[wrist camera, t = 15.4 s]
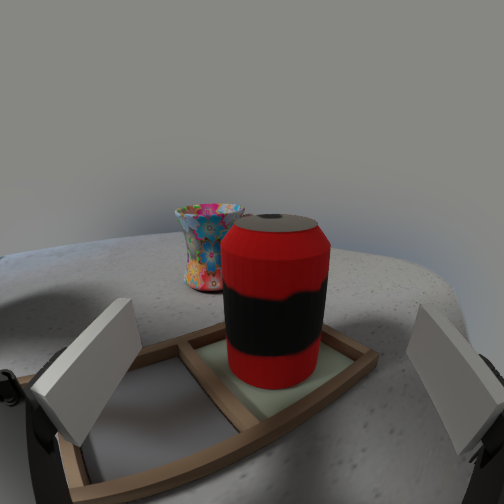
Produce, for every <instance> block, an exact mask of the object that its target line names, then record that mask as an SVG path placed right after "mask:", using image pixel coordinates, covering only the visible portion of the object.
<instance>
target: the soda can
mask: <svg viewBox="0 0 504 504" xmlns="http://www.w3.org/2000/svg"><path fill="white" fill-rule="evenodd" d="M220 245H221V265H222V283H223V299H224V314H225V329H226V342H227V355H228V364H229V367H230V369H231V371H232V372H233V374H234V375H235V376H237V377H238V378H239V379H240V380H242V381H244V382H245V383H247V384H249V385H252V386H254V387H257V388H262V389H271V390H275V389H284V388H288V387H292V386H294V385H297V384H299V383H301V382H302V381H304V380H306V379H307V378H308V377H309V376H310V375H311V374H312V373H313V372H314V370H315V368H316V365H317V360H318V353H319V347H320V340H321V333H322V325H323V318H324V309H325V301H326V292H327V282H328V272H329V260H330V247H331V245H330V242H329V241H328V239H327V238H326V236H325V235H324V233H323V232H322V230H321V229H320V228H319V226H318V223H317V222H316V221H315V220H313V219H310V218H307V217H302V216H296V215H285V214H263V215H253V216H247V217H242V218H239V219H237V220H235V221H234V224H233V226H232V227H231V229H230V230H229V231H228V233H227V234H226V235H225V237H224V238H223V240H222V241H221V244H220Z"/></svg>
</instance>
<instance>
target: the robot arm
mask: <svg viewBox="0 0 504 504" xmlns="http://www.w3.org/2000/svg"><path fill="white" fill-rule="evenodd" d="M141 349H142V343H141V339H140V335H139V331H138V327H137V323H136V319H135V314H134V310H133V305H132V300H131V299H125V298H117V299H116V300H115V301H114V302H113V303H112V304H111V305H110V306H109V307H107V308H106V309H105V310H104V311H103V312H102V313H101V314H100V315H99V316H98V317H97V318H96V319H95V320H94V321H93V322H92V323H91V324H90V325H89V326H88V327H87V328H86V329H85V330H84V331H83V332H82V333H81V334H80V335H79V336H78V337H77V338H76V339H75V340H74V342H73V343H72V344H71V345H70V346H69V347H65V348H63V349H62V350H60V351H58V352H57V353H55V354H54V356H53V357H52V358H51V359H50V360H49V362H47V363H46V364H45V365H44V366H43V368H41V369H40V370H39V371H38V373H37V374H36V375H35V376H34V377H33V378H32V379H31V380H30V381H29V382H28V383H27V385H26V386H25V387H24V388H23V389H22V387H21V385H20V383H19V382H18V380H17V378H16V376H15V375H14V373H13V372H12V371H10V370H8V369H2V370H0V504H73V502H72V499H71V495H70V492H69V489H68V485H67V481H66V477H65V473H64V469H63V465H62V460H61V456H60V451H59V445H58V441H57V439H56V437H55V434H56V433H57V431H58V432H59V433H60V435H61V436H62V437H63V438H64V440H65V441H67V442H70V443H72V444H74V445H76V446H78V447H81V445H82V443H83V441H84V440H85V438H86V436H87V435H88V433H89V431H90V430H91V428H92V426H93V425H94V423H95V421H96V420H97V418H98V416H99V415H100V413H101V412H102V410H103V408H104V407H105V405H106V403H107V402H108V400H109V399H110V397H111V395H112V394H113V392H114V391H115V389H116V388H117V386H118V384H119V383H120V381H121V380H122V378H123V377H124V375H125V373H126V372H127V370H128V369H129V367H130V366H131V364H132V363H133V361H134V360H135V358H136V356H137V355H138V353H139V352H140V350H141ZM406 354H407V356H408V357H409V359H410V361H411V363H412V364H413V366H414V368H415V370H416V372H417V373H418V375H419V377H420V379H421V381H422V383H423V385H424V386H425V388H426V390H427V392H428V394H429V396H430V398H431V400H432V402H433V404H434V406H435V408H436V410H437V412H438V414H439V416H440V418H441V420H442V422H443V424H444V426H445V428H446V431H447V433H448V435H449V437H450V439H451V442H452V444H453V446H454V448H455V451H456V453H457V455H461V454H463V453H465V452H468V451H470V450H472V449H473V448H474V447H475V446H476V445H477V444H478V442H479V441H480V440H481V441H482V443H483V445H482V447H481V448H480V449H479V450H478V451H477V452H476V453H475V454H474V455H473V457H472V458H471V459H470V461H469V463H471V462H472V461H473V460H474V459H475V458H476V457H477V456H478V457H477V460H476V462H475V463H474V464H475V467H474V471H473V474H472V477H471V480H470V483H469V486H468V488H467V491H466V494H465V496H464V499H463V501H462V504H504V379H503V378H502V376H500V374H499V372H498V371H497V370H495V367H494V366H493V365H492V363H491V362H490V361H489V360H488V359H487V358H485V357H484V356H482V355H481V354H477V352H476V351H475V350H474V349H473V347H472V346H471V345H470V344H469V343H468V341H467V340H466V339H465V338H464V337H463V336H462V334H461V333H460V332H459V331H458V330H457V329H456V328H455V327H454V325H453V324H452V323H451V322H450V321H449V320H448V319H447V318H446V317H445V315H444V314H443V313H442V312H441V311H440V310H439V309H438V308H437V307H436V306H435V305H434V304H433V303H426V304H420V306H419V310H418V313H417V317H416V321H415V324H414V327H413V331H412V334H411V337H410V340H409V343H408V346H407V349H406Z"/></svg>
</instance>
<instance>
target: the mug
mask: <svg viewBox="0 0 504 504" xmlns="http://www.w3.org/2000/svg"><path fill="white" fill-rule="evenodd" d="M244 210H245V209H244V207H243V206H240V205H235V204H200V205H192V206H187V207H182V208H179V209H177V210H176V211H175V215H176V217H177V219H178V221H179V223H180V225H181V228H182V230H183V233H184V236H185V240H186V245H187V255H188V260H187V268H186V272H185V274H184V278H183V279H184V282H185V283H186V284H187V285H188V286H189V287H191V288H194V289H197V290H202V291H218V290H223V283H222V265H221V245H220V244H221V241H222V240H223V238H224V237H225V235H226V234H227V233H228V231H229V230H230V229H231V227H232V226H233V224H234V221H235V220H237V219H239V218H242V217H247V216H253V214H245V215H243V213H244ZM242 215H243V216H242Z"/></svg>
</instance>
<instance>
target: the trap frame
mask: <svg viewBox="0 0 504 504" xmlns="http://www.w3.org/2000/svg"><path fill="white" fill-rule="evenodd" d="M179 357H180V358H181V360H182V361H183V363H184V364H185V365H186V367H187V368H188V369H189V371H190V372H191V373H192V375H193V376H194V377H195V379H196V380H197V381H198V383H199V384H200V385H201V387H202V388H203V389H204V390H205V392H206V393H207V394H208V395H209V397H210V398H211V399H212V400H213V402H214V403H215V404H216V405H217V407H218V408H219V409H220V410H221V411H222V413H223V414H224V415H225V416H226V417H227V418H228V420H229V421H230V422H231V423H232V424H233V425H234V426H235V428H236V429H237V430H238V431H239V432H240V433H238V432H237V431H236V430H235V428H234V427H233V426H232V425H231V424H230V423H229V422H228V420H227V419H226V418H225V417H224V416H223V414H222V413H221V412H220V411H219V410H218V408H217V407H216V406H215V405H214V404H213V402H212V401H211V400H210V399H209V397H208V396H207V395H206V394H205V392H204V391H203V390H202V388H201V387H200V386H199V385H198V383H197V382H196V381H195V379H194V378H193V377H192V375H191V374H190V373H189V371H188V370H187V368H186V367H185V366H184V364H183V363H182V362H181V360H180V359H179ZM378 358H379V353H377V352H375V351H373V350H372V349H370V348H368V347H366V346H364V345H362V344H360V343H358V342H357V341H355V340H353V339H351V338H349V337H347V336H345V335H343V334H342V333H340V332H338V331H336V330H334V329H332V328H331V327H329V326H327V325H325V324H323V325H322V333H321V340H320V347H319V353H318V360H317V365H316V368H315V370H314V372H313V373H312V374H311V375H310V376H309V377H308V378H307V379H306V380H304V381H302V382H301V383H299V384H297V385H294V386H292V387H288V388H284V389H275V390H271V389H262V388H257V387H254V386H252V385H249V384H247V383H245V382H244V381H242V380H240V379H239V378H238V377H237V376H235V375H234V374H233V372H232V371H231V369H230V367H229V364H228V355H227V342H226V329H225V322H222V323H219V324H216V325H214V326H211V327H208V328H204V329H201V330H198V331H195V332H192V333H189V334H186V335H183V336H180V337H176V338H173V339H170V340H167V341H163V342H160V343H157V344H153V345H150V346H146V347H143V348H142V349H141V350H140V352H139V353H138V355H137V356H136V358H135V360H134V361H133V363H132V364H131V366H130V367H129V369H128V370H127V372H126V373H125V375H124V377H123V378H122V380H121V381H120V383H119V384H118V386H117V388H116V389H115V391H114V392H113V394H112V395H111V397H110V399H109V400H108V402H107V403H106V405H105V407H104V408H103V410H102V412H101V413H100V415H99V416H98V418H97V420H96V421H95V423H94V425H93V426H92V428H91V430H90V431H89V433H88V435H87V436H86V438H85V440H84V441H83V443H82V445H81V449H82V452H83V456H84V460H85V463H86V467H87V470H88V474H89V477H90V480H91V483H92V485H91V484H90V481H89V478H88V475H87V472H86V468H85V465H84V461H83V457H82V454H81V450H80V447H78V446H76V445H74V444H72V443H70V442H67V441H65V440H64V438H63V437H62V436H61V435H60V433H59V432H58V436H59V443H60V448H61V454H62V459H63V463H64V468H65V472H66V476H67V480H68V484H69V492H70V495H71V499H72V502H73V504H122V503H126V502H130V501H134V500H137V499H141V498H145V497H148V496H151V495H155V494H158V493H161V492H164V491H167V490H170V489H173V488H175V487H178V486H181V485H183V484H186V483H189V482H191V481H194V480H196V479H199V478H201V477H203V476H206V475H208V474H210V473H213V472H215V471H217V470H219V469H221V468H224V467H226V466H228V465H230V464H232V463H234V462H236V461H238V460H240V459H242V458H244V457H246V456H248V455H250V454H251V453H253V452H255V451H257V450H259V449H261V448H262V447H264V446H266V445H268V444H269V443H271V442H273V441H275V440H276V439H278V438H280V437H281V436H283V435H284V434H286V433H288V432H289V431H291V430H292V429H294V428H296V427H297V426H299V425H300V424H302V423H303V422H305V421H306V420H308V419H309V418H311V417H312V416H314V415H315V414H316V413H318V412H319V411H321V410H322V409H323V408H325V407H326V406H328V405H329V404H330V403H332V402H333V401H334V400H336V399H337V398H338V397H340V396H341V395H342V394H343V393H345V392H346V391H347V390H348V389H350V388H351V387H352V386H353V385H355V384H356V383H357V382H358V381H360V380H361V379H362V378H363V377H364V376H365V375H367V374H368V373H369V372H370V371H371V370H372V369H374V368H375V367H376V364H377V361H378ZM35 375H36V374H34V375H29V376H23V377H18V378H17V380H18V382H19V383H20V385H21V387H22V389H23V388H24V387H25V386H26V385H27V383H28V382H29V381H30V380H31V379H32V378H33V377H34V376H35Z"/></svg>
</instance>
